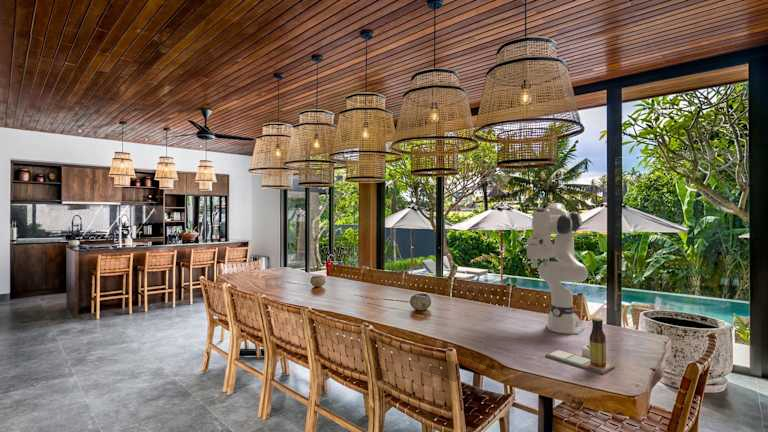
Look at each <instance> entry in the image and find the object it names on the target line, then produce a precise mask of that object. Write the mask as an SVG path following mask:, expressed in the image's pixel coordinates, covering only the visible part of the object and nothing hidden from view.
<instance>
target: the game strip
mask: <svg viewBox="0 0 768 432" xmlns="http://www.w3.org/2000/svg"><path fill="white" fill-rule="evenodd" d="M544 356H545V357H546V358H548V359H551V360H555V361H556V362H557V361H558V362H561V363H564V364H567V365H570V366H573V367H577V368H580V369H582V370H586V371H589V372H591V373H592V372H593V373H595V372H596V374H598V373H599V374H598V375H605V374H607V373H609V372H610V371H612V370H614V369H615V368H616V365H613V364H610V363H607V362H606V366H605V367H596V366H594V365H592V364H591V363H590V358H587V357H583V356H582V355H579V354H575V353H573V352H569V351H566V350H563V349H560V348H559V349H558V348H557V349H556V350H553V351H551V352H548V353H545V355H544Z"/></svg>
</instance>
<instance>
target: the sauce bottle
mask: <svg viewBox="0 0 768 432" xmlns="http://www.w3.org/2000/svg"><path fill="white" fill-rule="evenodd" d="M591 323H592V329H591V332H590V334H589V346H590V363H591V364H592V365H594V366H596V367H605V366H606V363H607V340H606V333H605V332H604V331H603V323H604V321H603V319H602V318H599V317H593V318H592V319H591Z"/></svg>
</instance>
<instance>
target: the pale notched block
mask: <svg viewBox="0 0 768 432" xmlns="http://www.w3.org/2000/svg"><path fill="white" fill-rule="evenodd" d="M581 356H583V357H587V358H590V345H585V346H583V347H581Z"/></svg>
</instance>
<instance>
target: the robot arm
mask: <svg viewBox="0 0 768 432" xmlns="http://www.w3.org/2000/svg"><path fill="white" fill-rule="evenodd" d="M582 222H583V221H582V216H581V214H580V213H579V212H578V211H568V210H567V209H566V206H565V204H563V203H562V202H553V203H551V204H549V205H548V206H547V207H545V208H544V207H542V208H541V207H539V208H535V209H534V210H533V213H532V222H531V226H532V233H531V236H530V237H529V238H527V239H526V244H527V246H526V258H527V259H528V260H531V262H532V264H533V268H535V269H537V271H538V272H537V273H538V275H539V277H540V278H541V279H542V280H544V281H545V282H546V284H547V285H548V287H549V290H550V296H551V297H550V298H551V304H550V307H549V308H550V312H549V313H548V317H547V324H545V327H546V328H547V329H548V330H549V331H551V332H555V333H559V334H570V335H571V334H572V335H579V334H581V332H583V331H584V330H585V327H584V326H583V325H581V319H580V317H579V316H578V315H577V314H576V313H575V310H577V306H576V305H574V304H573V301H574V299H573V298H574V295H573V292H572V290H570V289H569V288H568V287H566V286H564V285H563V284H562V282H564V283H566V282H568V283H580V282H585V281H586V280H587V278H588V276H589V271H588V269H587V267H586V265H584V264H583V263H581V262H580V261H579V260H578V259H577V258H576V255H575V238H574V235H573V233H577V231H578V230H579V229H580V228H581V226H582ZM551 234H556V235H555V238H554V243H553V241H552V240H551V239H552V237H551V236H552V235H551ZM550 258H555V259H556V260H557V261H552V260H551V261H550ZM540 259H544V261H542V262H541V263H540V264H538V260H540Z"/></svg>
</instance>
